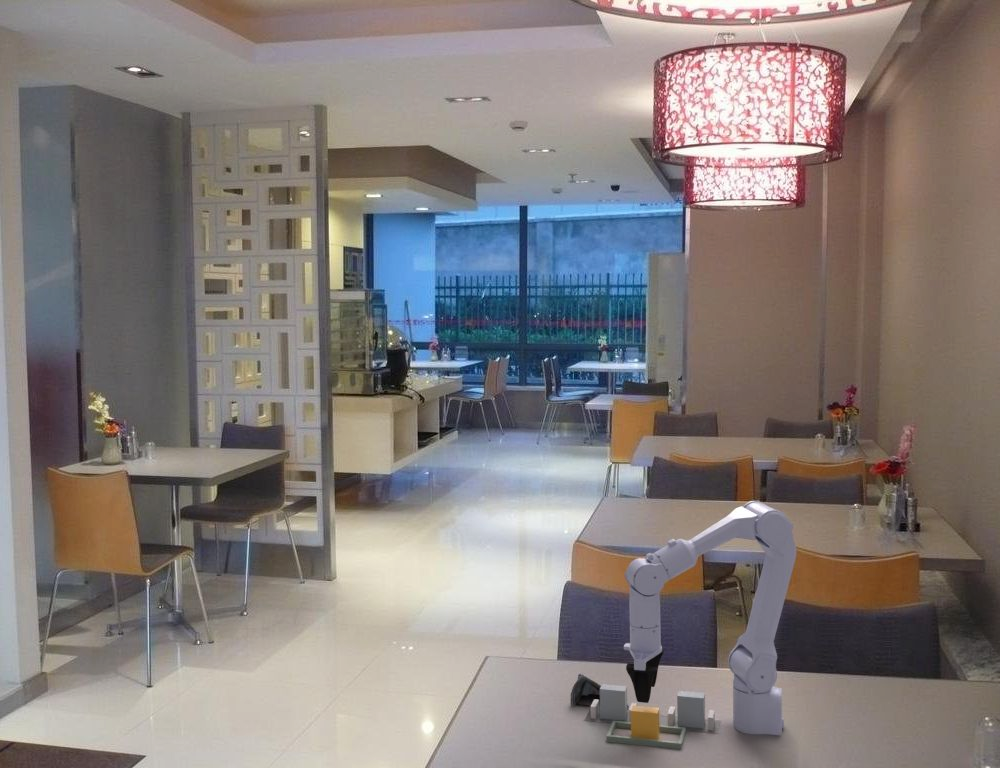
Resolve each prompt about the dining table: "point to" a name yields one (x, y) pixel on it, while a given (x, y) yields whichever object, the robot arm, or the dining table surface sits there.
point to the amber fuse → (645, 722)
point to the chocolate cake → (584, 690)
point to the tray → (643, 741)
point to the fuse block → (669, 720)
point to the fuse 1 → (613, 702)
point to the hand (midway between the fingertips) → (646, 693)
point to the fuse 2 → (691, 709)
